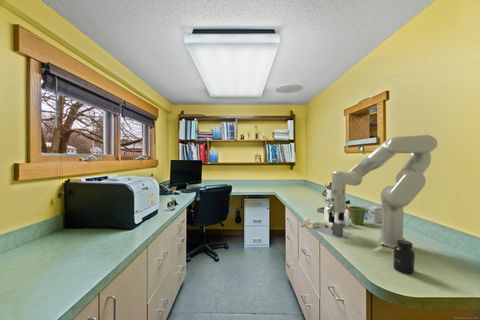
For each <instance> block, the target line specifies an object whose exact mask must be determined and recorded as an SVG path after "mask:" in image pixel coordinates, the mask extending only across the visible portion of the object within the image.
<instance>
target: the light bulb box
mask: <svg viewBox="0 0 480 320" xmlns="http://www.w3.org/2000/svg"><path fill="white" fill-rule="evenodd" d="M362 207H364V208H367V210H366V213H365V217H364V221H368V222H370V223H373V224H377V223H381V219H382V207H380V206H375V205H371V204H363V205H362Z"/></svg>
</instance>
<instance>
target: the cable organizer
mask: <svg viewBox="0 0 480 320" xmlns="http://www.w3.org/2000/svg"><path fill="white" fill-rule="evenodd" d="M324 207H325V208H324V213H323V219H324V220H323V221H324V222H327V224H329V225H331V224H333V223H331V222H329V215H328V210H327V208H328V207H327V206H324ZM332 214H333V212H332ZM338 214H339V213H336V212H335V214H334V216H335V218H334V222H335V221H339V222H342V223H343V227H349V226H350V218H349V216H350V213H349V211H348V210H347V209H346V211H345V214H344V221H341V220H338Z"/></svg>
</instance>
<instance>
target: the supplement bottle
mask: <svg viewBox="0 0 480 320" xmlns="http://www.w3.org/2000/svg"><path fill="white" fill-rule="evenodd" d="M412 244H413V243H412V242H411V241H409V240H406V239H405V240H398V241H397V245H398V246H395V247H394V248H393V262H392V263H393V264H392V266H393V268H394V270H395V271H397V272H399V273H402V274H404V275H413V274H414V273H415V264H416V263H415V259H416V252H415V251H414V249H413V247H412Z"/></svg>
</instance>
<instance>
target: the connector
mask: <svg viewBox="0 0 480 320" xmlns="http://www.w3.org/2000/svg"><path fill="white" fill-rule="evenodd" d="M343 231H344V226H343V223H342V222H339V221H335V222H334V223H333V232H332V235H335V236H338V237H340V236H343Z"/></svg>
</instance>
